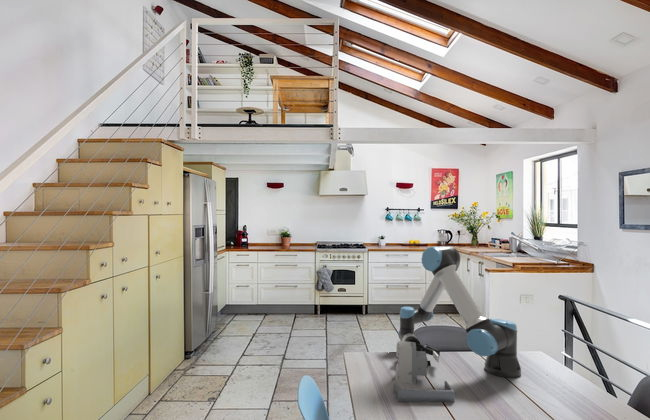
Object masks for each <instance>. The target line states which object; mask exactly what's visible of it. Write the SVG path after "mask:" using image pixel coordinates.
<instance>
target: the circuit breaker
mask: <svg viewBox="0 0 650 420" xmlns="http://www.w3.org/2000/svg"><path fill="white" fill-rule="evenodd" d="M395 355H396V357H398V363H397V364H396V368H395V369H396V370H395V376H396V377H395V383H400V384H401V383H402V384H412V385H416V384H417V376H421V377H422V376H424V377H428V375H427V374H428V367H431V366H432V363H431V360H428V357H427V354H426V352H423V351H422V350H421V351H416V343H415V342H405V341H401V340H399V341H398V340H397V341H396V354H395Z"/></svg>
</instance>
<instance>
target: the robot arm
mask: <svg viewBox="0 0 650 420" xmlns="http://www.w3.org/2000/svg"><path fill="white" fill-rule="evenodd" d="M460 263H461V254H460V252H459V251H458V249H456V247H454V246H452V245H442V246H441V245H439V246H437V245H436V246H435V245H433V246H429V247H427V248H426V249H424V251H423V252H422V254H421V264H422V267H423V268H424V269H425V270H426V271H429V272H431V273H432V275H433V278H432V279H431V282H430V284H429V286H428V288H427V289H426V291H425V293H424V296H423V297H422V298H421V301H420V304H419V305H418V307H417V308H414V307H412V306H402V307H400V311H399V330H398V334H397V335H398V338H399V341H405V342H415V343H416V351H423V352H426V355H430V356H432V358H433V359H434V360H435V361H436V362H437V363H439V362H440V355H441V352H440V351H441V350H440V349H437V348H435V347H433V346H430V345H429V344H428V343H425V345H423V344H421V341H420V340H419V339H418V337H417V336H416V335H415V324H416V325H417V324H420V323H427V322H429V321H431V320H433V318H434V312H433V311H434V308H436V306H437V304H438V301H439V300H440V298H441V296H442V295H443V292H444V290H445V291H446V293H447V294H448V296H449V299H450V300H451V302H452V304H453V305H454V307H455V308H456V310H457V312H458V313H459V316H460V317H461V318H462V321H463V322H464V325H465V328H464V330H465V333H466V334H467V335H466V343H467V346H468V347H469V349H470V350H471V351H472V352H473V353H474V354H476V355H478V356H480V357H486V359H485V361H484V369H485V371H486V372H488V373H489V374H491V375H494V376H498V377H502V378H518V377H520V376H521V375H522V369H521V365H520V362H519V359H518V356H517V351H518V344H517V343H518V328H517V327H518V326H517V324H516V323H515V322H513V321H510V320H505V319H502V318H501V319H500V318H489V317H486V316H484V315H483V313H482V312H481V310H480V309H479V307H478V305H477V304H476V302H475V300H474V299H473V297H472V295H471V293H469V291H468V289H467V287H466V286H465V284H464V281H462V279H461V278H460V276H459V274H458V273H457V271H458V270H459V267H460V266H461V264H460Z"/></svg>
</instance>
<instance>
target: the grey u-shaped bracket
mask: <svg viewBox="0 0 650 420" xmlns="http://www.w3.org/2000/svg"><path fill="white" fill-rule="evenodd" d="M392 392H393V394H394V396H395V399H396V401H397V403H455V390H454V389H453V388H452V386H451V385H450V384H449V383H448V381H447V380H444V389H399V388H398V385H397V382H396V380H392Z"/></svg>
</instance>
